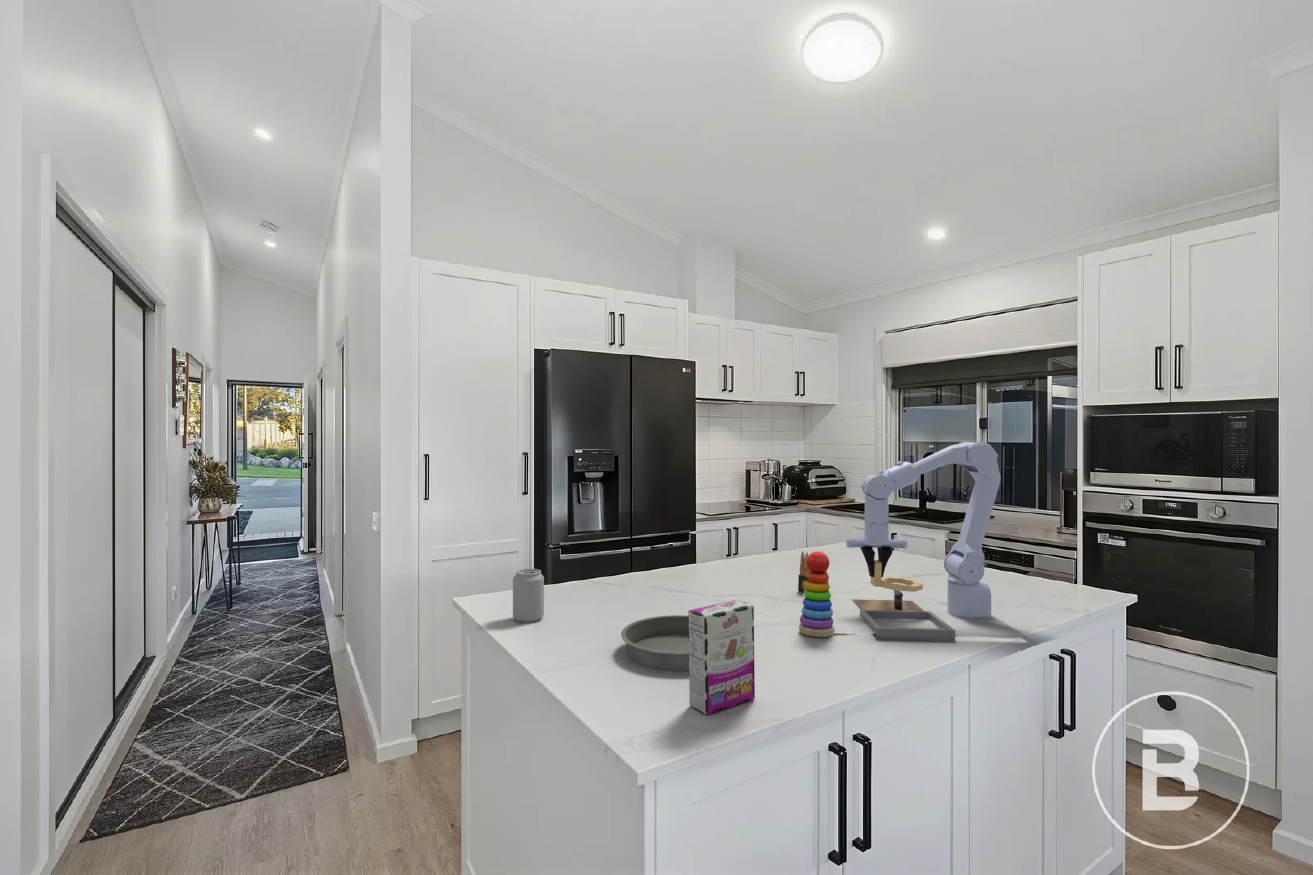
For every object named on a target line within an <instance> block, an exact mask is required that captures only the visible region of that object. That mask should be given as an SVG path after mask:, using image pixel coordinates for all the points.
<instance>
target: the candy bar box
mask: <svg viewBox="0 0 1313 875" xmlns="http://www.w3.org/2000/svg"><path fill="white" fill-rule="evenodd" d="M754 607H755V605H754V604H750V603H748V602H745V601H741V600H739V599H734V600H729V601H724V602H720V603H715V604H711V605H707V606H702V607H698V608H694V609H688V611H687V612H688V615H687V616H689V617H688V618H689V671H688V672H689V674H688V676H689V677H688V678H689V680H688V682H689V685H688V686H689V687H688V688H689V691H688V692H689V707H691V708H692V709H694V710H696V711H698V712H700V713H702V714H703V715H706V716H710V715H713V714H716V713H719V712H721V711H724V710H727V709H730V708H733V707H736V706H738V705H741V704H744V703H746V702H749V701H752V700H755V698H756V694H755V693H756V692H755V691H756V690H755V685H756V684H755V678H756V677H755V608H754Z"/></svg>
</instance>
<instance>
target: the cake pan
mask: <svg viewBox="0 0 1313 875" xmlns="http://www.w3.org/2000/svg"><path fill="white" fill-rule="evenodd" d="M688 617H689V616H688V615H684V614H683V615H681V614H680V615H678V614H677V615H676V614H675V615H673V614H672V615H671V614H670V615H657V616H652V617H646V618H642V619H639V620H636V621H633V622H631V623H629V624H627V625H626V626H625V627H623V629H622V630H621V633H620V637H621V639H622V640H623V641H624V643H626V646H627V649H628V653H629V656H630V658H631V659H632V660H633V661H634V662H636V663H638V664H641V665H643V666H645V667H649V668H653V669H656V670H657V669H658V670H664V671H672V672H673V671H675V672H677V671H678V672H689V618H688Z"/></svg>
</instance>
